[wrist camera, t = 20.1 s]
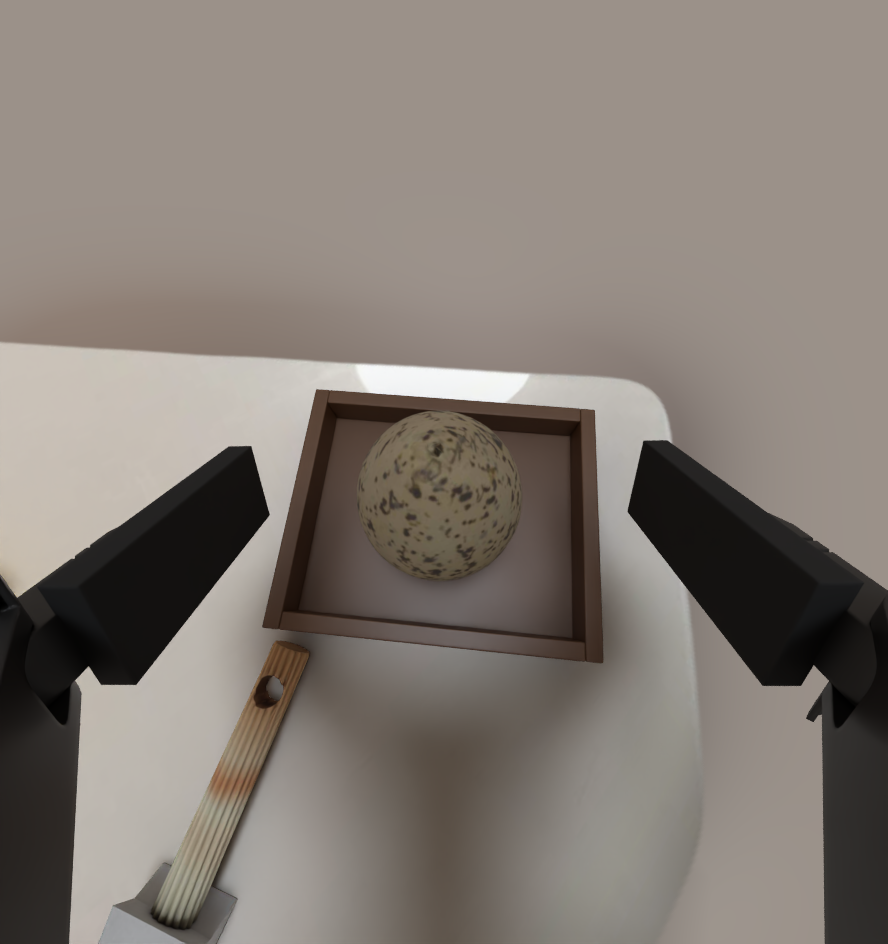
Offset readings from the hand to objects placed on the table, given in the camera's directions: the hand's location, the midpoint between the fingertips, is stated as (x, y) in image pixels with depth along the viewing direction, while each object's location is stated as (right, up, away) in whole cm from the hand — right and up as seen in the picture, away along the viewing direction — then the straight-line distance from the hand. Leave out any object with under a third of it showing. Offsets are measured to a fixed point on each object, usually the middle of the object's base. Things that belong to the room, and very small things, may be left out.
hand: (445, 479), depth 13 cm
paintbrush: (-11, -18, +4) cm, 21 cm away
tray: (0, -3, +9) cm, 9 cm away
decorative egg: (0, -2, +8) cm, 8 cm away
